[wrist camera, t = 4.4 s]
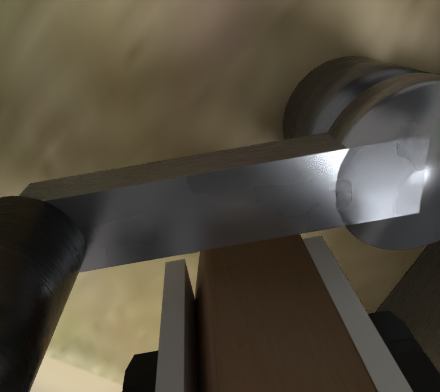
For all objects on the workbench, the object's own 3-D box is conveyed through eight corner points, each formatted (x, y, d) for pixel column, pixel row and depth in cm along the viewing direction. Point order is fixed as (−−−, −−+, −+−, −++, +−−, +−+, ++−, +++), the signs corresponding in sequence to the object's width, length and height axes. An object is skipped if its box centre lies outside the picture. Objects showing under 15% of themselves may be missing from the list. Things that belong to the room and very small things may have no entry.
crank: (494, 58, 10) (1168, 153, 3) (460, 211, 12) (795, 450, 5) (-44, 150, 9) (-572, 461, 3) (30, 287, 12) (-164, 628, 5)
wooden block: (193, 296, 15) (199, 541, 8) (202, 221, 13) (220, 456, 6) (280, 299, 16) (354, 530, 9) (300, 227, 14) (415, 448, 7)
